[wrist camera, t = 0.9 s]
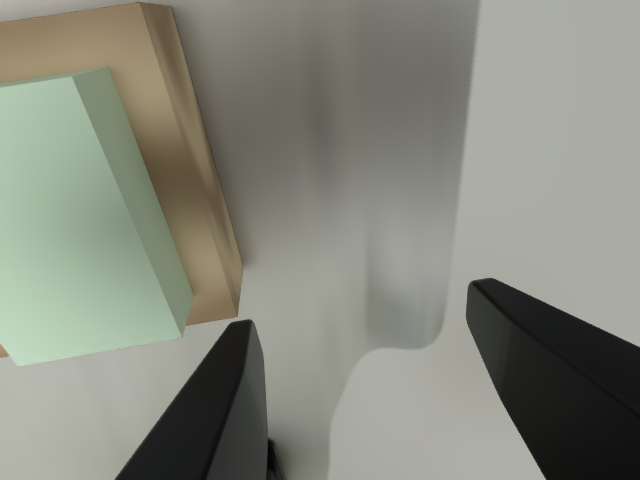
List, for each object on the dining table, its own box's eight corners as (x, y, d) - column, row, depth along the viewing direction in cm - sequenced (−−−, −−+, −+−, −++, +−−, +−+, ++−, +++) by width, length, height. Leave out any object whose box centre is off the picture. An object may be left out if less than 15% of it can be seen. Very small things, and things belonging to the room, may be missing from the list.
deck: (243, 267, 21) (237, 316, 17) (-3, 308, 20) (-60, 368, 17) (170, 6, 15) (139, 2, 11) (-182, 58, 14) (-326, 71, 11)
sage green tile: (194, 296, 16) (182, 337, 14) (51, 320, 16) (17, 366, 14) (108, 66, 12) (71, 76, 10) (-91, 96, 12) (-173, 113, 10)
